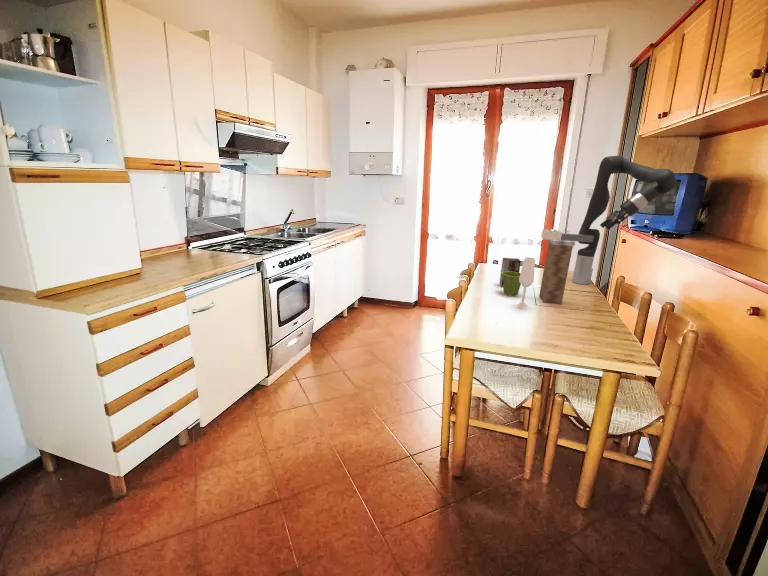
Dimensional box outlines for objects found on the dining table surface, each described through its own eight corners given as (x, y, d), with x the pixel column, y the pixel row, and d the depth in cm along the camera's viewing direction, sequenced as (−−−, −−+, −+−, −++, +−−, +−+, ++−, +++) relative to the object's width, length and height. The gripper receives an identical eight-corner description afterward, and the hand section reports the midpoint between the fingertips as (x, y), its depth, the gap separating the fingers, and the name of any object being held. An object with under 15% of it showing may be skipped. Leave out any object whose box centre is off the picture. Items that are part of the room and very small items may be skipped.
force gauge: (589, 240, 189) (591, 231, 188) (593, 242, 184) (595, 233, 183) (541, 237, 192) (542, 228, 191) (543, 239, 188) (545, 229, 186)
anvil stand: (557, 298, 202) (568, 238, 193) (562, 304, 193) (575, 242, 183) (537, 296, 204) (548, 237, 194) (542, 302, 194) (553, 240, 185)
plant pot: (525, 294, 207) (528, 274, 203) (515, 298, 198) (519, 278, 195) (505, 289, 214) (508, 269, 211) (495, 293, 206) (497, 273, 203)
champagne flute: (512, 305, 188) (519, 258, 180) (518, 302, 192) (525, 256, 185) (525, 309, 183) (533, 260, 176) (531, 306, 188) (539, 258, 181)
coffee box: (514, 285, 223) (518, 258, 218) (517, 288, 217) (521, 260, 212) (498, 284, 224) (502, 257, 219) (500, 287, 218) (504, 259, 213)
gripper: (623, 198, 192) (594, 220, 197) (634, 199, 179) (603, 223, 184) (633, 209, 192) (604, 231, 198) (644, 211, 179) (613, 234, 184)
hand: (603, 227), depth 191 cm, fingers open, 8 cm apart
